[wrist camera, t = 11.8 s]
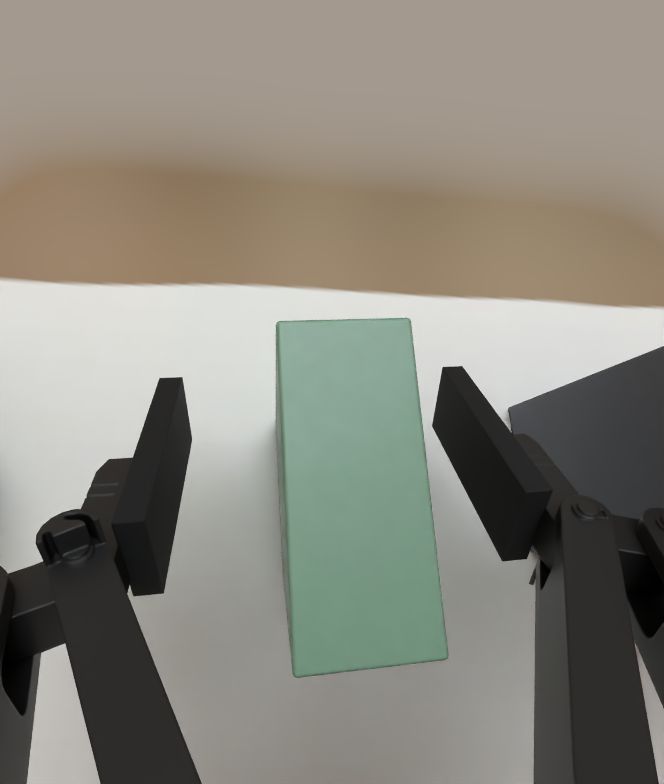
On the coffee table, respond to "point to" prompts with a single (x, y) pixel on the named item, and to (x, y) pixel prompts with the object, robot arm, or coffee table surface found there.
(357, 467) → the green book
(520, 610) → the coffee table surface
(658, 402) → the grey books
